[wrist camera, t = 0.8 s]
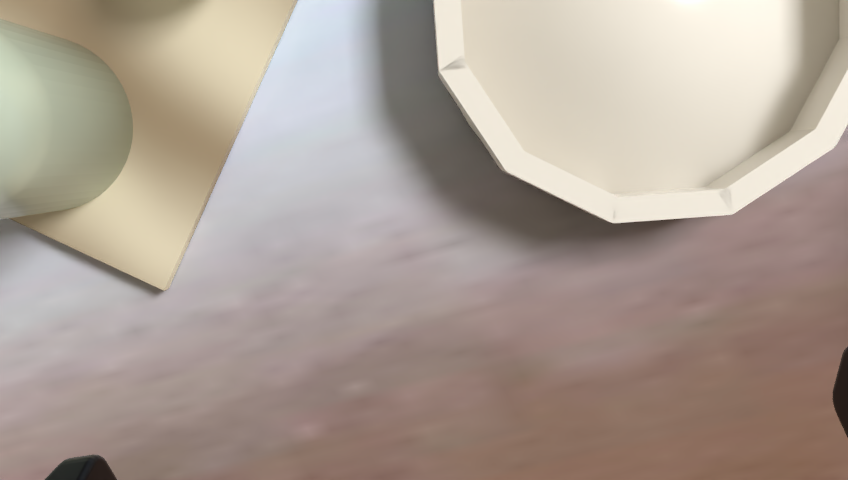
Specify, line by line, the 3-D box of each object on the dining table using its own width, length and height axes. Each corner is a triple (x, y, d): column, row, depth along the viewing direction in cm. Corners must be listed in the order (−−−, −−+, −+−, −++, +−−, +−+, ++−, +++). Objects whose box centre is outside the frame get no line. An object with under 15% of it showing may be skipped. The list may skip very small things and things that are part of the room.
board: (168, 288, 22) (164, 290, 22) (-173, 128, 22) (-185, 128, 21) (321, -54, 21) (319, -58, 21) (-36, -231, 21) (-45, -238, 20)
